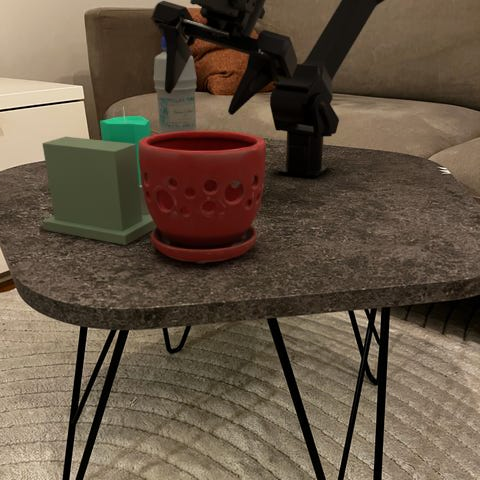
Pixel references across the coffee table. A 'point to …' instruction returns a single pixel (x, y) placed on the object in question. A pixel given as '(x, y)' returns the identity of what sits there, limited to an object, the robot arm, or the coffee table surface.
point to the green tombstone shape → (96, 190)
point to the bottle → (175, 96)
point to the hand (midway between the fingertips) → (198, 102)
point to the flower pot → (202, 192)
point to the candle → (126, 131)
